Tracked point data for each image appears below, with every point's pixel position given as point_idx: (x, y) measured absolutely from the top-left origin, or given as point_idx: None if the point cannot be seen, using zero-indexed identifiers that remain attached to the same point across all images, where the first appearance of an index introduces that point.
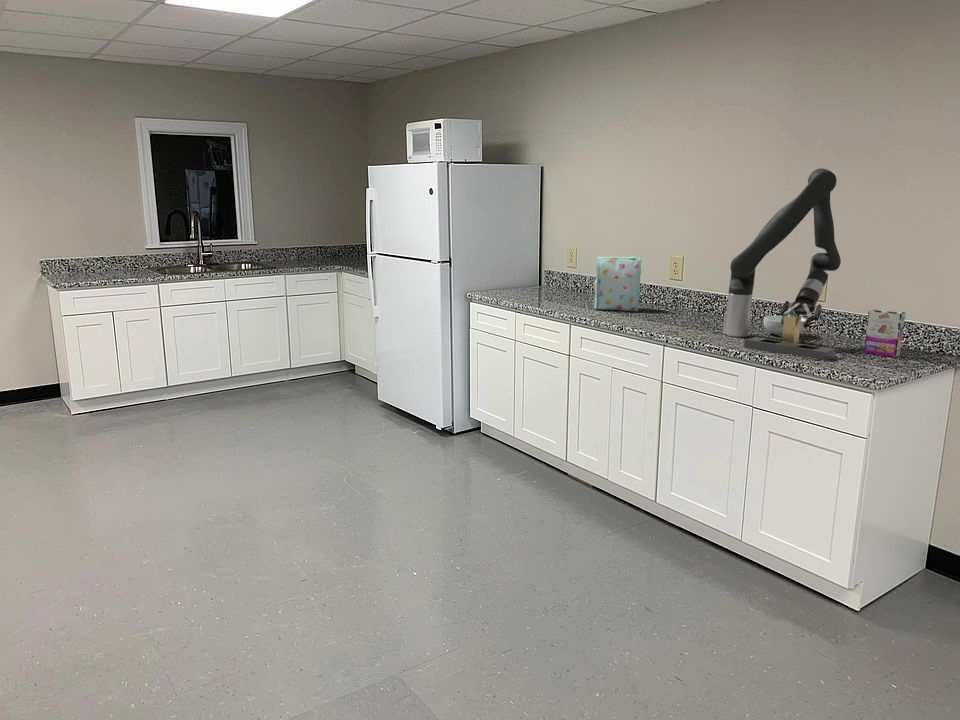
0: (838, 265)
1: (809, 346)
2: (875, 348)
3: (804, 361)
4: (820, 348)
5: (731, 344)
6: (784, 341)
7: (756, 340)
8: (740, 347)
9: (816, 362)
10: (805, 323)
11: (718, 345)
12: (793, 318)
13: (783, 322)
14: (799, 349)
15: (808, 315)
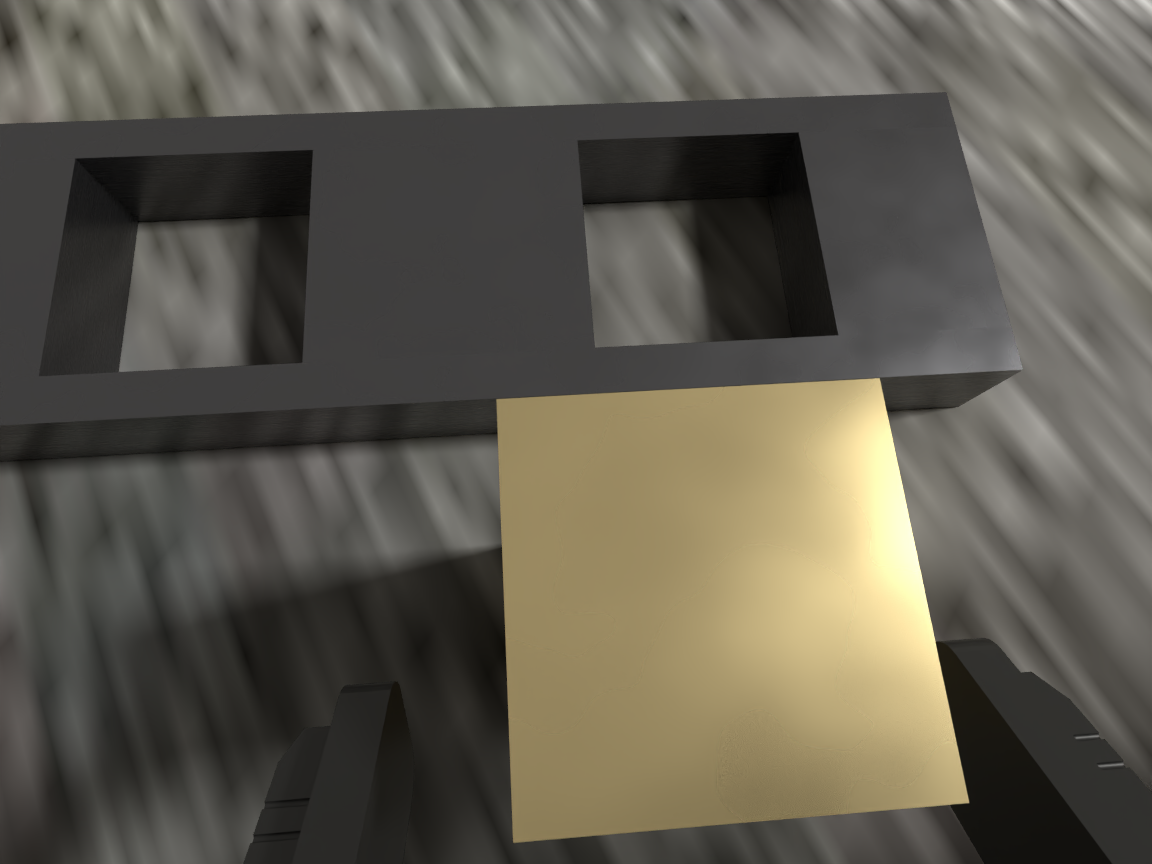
0: None
1: (207, 370)
2: None
3: (142, 27)
4: (21, 307)
5: (1083, 200)
6: (591, 382)
7: (837, 153)
8: None
9: (34, 70)
10: (343, 712)
11: (1092, 58)
12: (575, 404)
13: None
14: (241, 125)
15: None
